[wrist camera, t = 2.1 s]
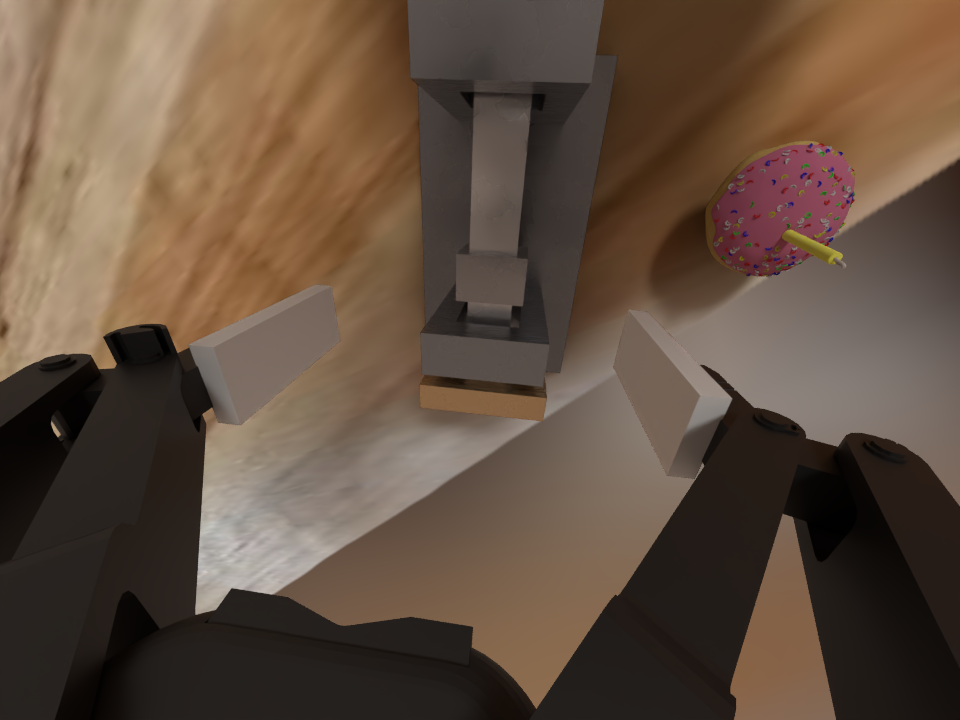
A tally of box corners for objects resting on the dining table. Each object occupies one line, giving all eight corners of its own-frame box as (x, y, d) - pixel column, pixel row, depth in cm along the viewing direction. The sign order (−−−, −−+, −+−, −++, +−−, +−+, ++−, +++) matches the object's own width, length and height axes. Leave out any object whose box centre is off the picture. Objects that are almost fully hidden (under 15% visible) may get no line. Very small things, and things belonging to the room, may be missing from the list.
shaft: (473, 33, 19) (460, -5, 16) (550, 34, 19) (557, -4, 15) (463, 387, 31) (454, 416, 27) (511, 392, 30) (509, 422, 26)
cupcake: (767, 267, 29) (903, 315, 19) (666, 257, 30) (743, 297, 19) (822, 151, 25) (1035, 129, 15) (705, 142, 26) (828, 114, 15)
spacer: (445, 334, 32) (419, 384, 24) (541, 343, 31) (546, 398, 23) (445, 353, 33) (420, 407, 25) (538, 362, 32) (542, 421, 24)
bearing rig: (422, 57, 26) (332, -51, 14) (612, 62, 24) (695, -52, 12) (430, 353, 37) (385, 433, 25) (558, 366, 36) (574, 456, 24)
